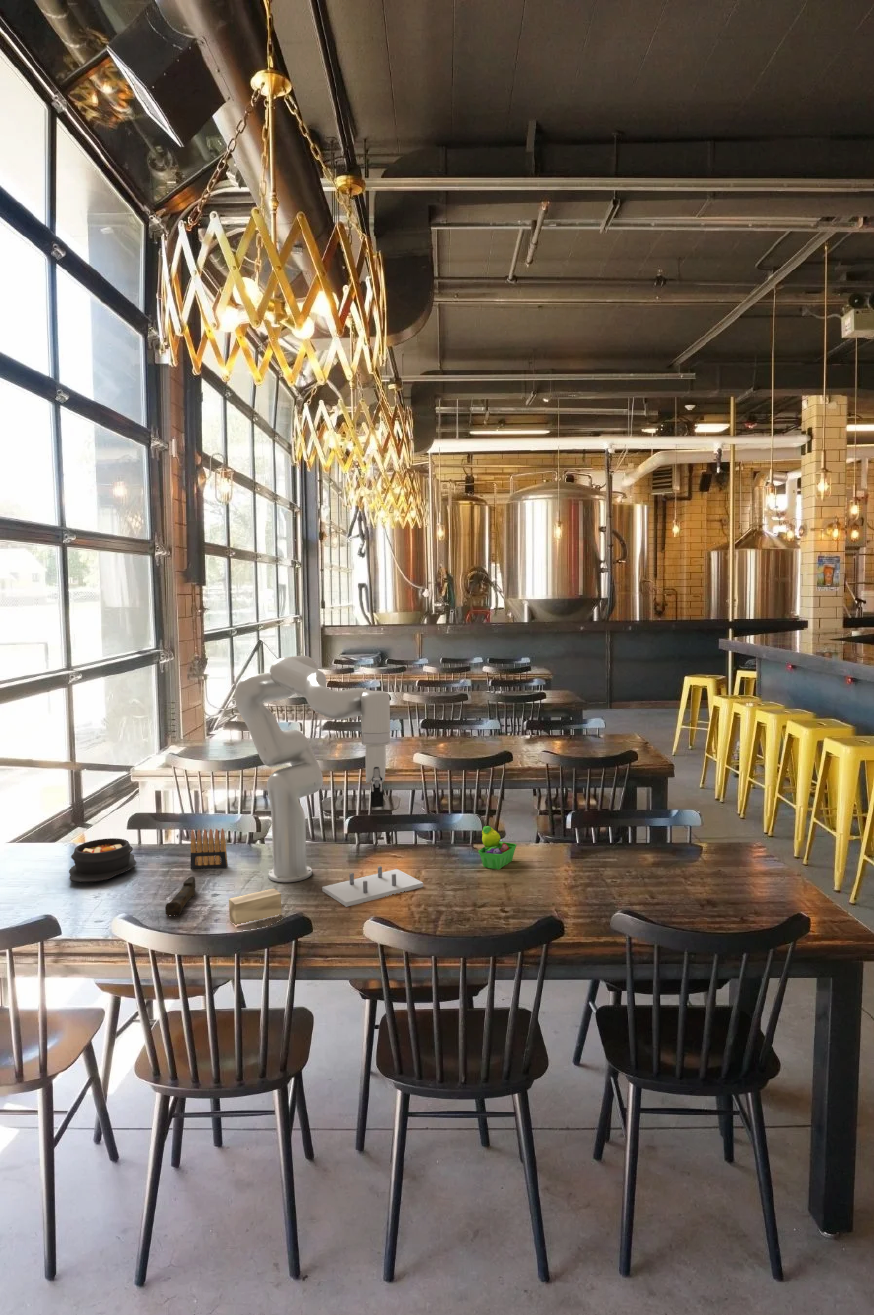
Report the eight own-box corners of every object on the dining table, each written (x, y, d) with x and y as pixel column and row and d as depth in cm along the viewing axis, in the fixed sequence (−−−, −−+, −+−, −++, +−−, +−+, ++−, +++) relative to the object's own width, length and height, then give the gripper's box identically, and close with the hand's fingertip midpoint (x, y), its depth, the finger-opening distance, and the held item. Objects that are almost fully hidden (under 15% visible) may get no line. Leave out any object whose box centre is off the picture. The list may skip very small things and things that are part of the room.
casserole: (119, 887, 229) (118, 858, 229) (53, 889, 229) (51, 860, 228) (148, 858, 254) (147, 832, 254) (88, 860, 254) (87, 833, 253)
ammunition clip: (227, 866, 245) (226, 827, 245) (226, 868, 244) (225, 829, 243) (191, 867, 245) (190, 828, 244) (190, 869, 243) (188, 830, 242)
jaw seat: (322, 891, 223) (321, 876, 223) (397, 872, 237) (396, 858, 236) (346, 906, 212) (345, 891, 211) (423, 886, 225) (422, 872, 225)
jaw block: (229, 922, 204) (228, 898, 203) (274, 910, 211) (273, 888, 210) (236, 927, 200) (235, 904, 200) (281, 916, 207) (280, 893, 206)
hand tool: (180, 917, 207) (179, 900, 207) (165, 917, 208) (164, 900, 207) (204, 890, 226) (203, 874, 226) (190, 890, 226) (189, 874, 226)
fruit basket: (500, 872, 236) (499, 834, 235) (473, 867, 241) (473, 829, 240) (517, 860, 246) (517, 824, 245) (492, 856, 250) (491, 820, 250)
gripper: (362, 732, 222) (363, 793, 224) (361, 744, 205) (362, 811, 207) (389, 731, 223) (390, 793, 224) (391, 744, 206) (391, 810, 207)
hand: (376, 801), depth 215 cm, fingers open, 9 cm apart
